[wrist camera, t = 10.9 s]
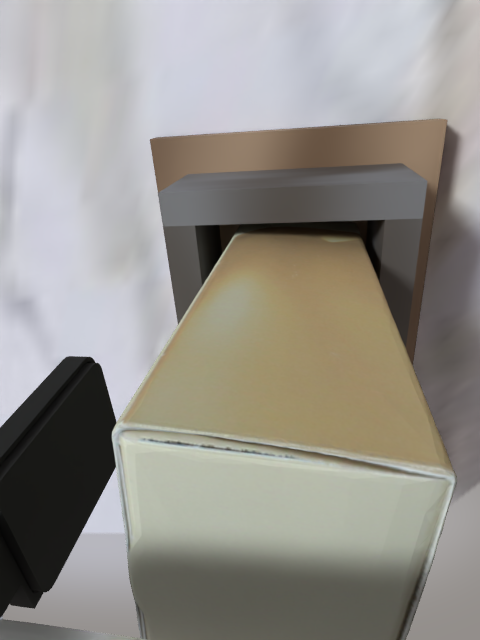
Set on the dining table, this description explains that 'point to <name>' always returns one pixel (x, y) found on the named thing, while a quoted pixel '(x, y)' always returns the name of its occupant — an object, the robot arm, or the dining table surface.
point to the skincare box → (282, 453)
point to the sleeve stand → (305, 198)
